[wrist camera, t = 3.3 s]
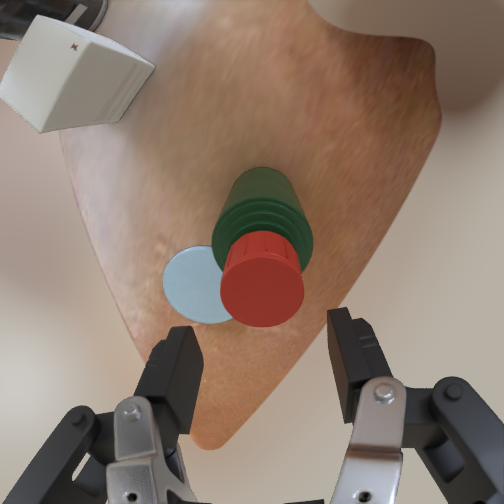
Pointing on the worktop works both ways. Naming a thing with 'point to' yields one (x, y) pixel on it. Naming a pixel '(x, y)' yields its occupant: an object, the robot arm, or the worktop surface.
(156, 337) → the worktop surface
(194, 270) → the saucer
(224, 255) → the sauce bottle
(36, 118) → the white packaging box
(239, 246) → the cap
